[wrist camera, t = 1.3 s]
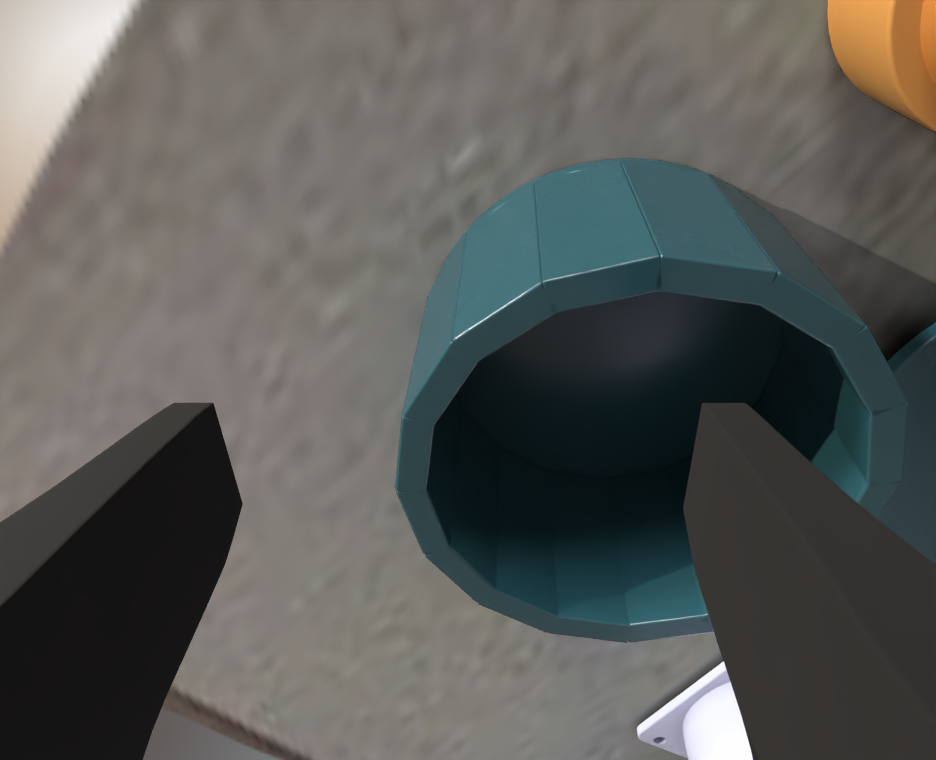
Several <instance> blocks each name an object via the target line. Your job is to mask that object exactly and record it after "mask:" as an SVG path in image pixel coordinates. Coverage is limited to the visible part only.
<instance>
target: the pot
mask: <svg viewBox="0 0 936 760" xmlns="http://www.w3.org/2000/svg"><path fill="white" fill-rule="evenodd" d="M702 403H746V404H747V405H749V406H750V407H751V408H752V409H753V410H754V411H755V412H757V413H758V414H759V415H760V416H761V417H762V418H763V419H764V420H765V421H766V422H768V423H769V424H770V425H771V426H772V427H773V428H774V429H775V430H776V431H777V432H778V433H779V434H781V435H782V436H783V437H784V438H785V439H786V440H787V441H788V442H789V443H790V444H791V445H792V446H794V447H795V448H796V449H797V450H798V451H799V452H800V453H801V454H802V455H803V456H804V457H806V458H807V459H808V460H809V461H810V462H811V463H812V464H813V465H814V466H816V467H817V468H818V469H819V470H820V471H821V472H822V473H823V474H824V475H826V476H827V477H828V478H829V479H830V480H831V481H832V482H834V483H835V484H836V485H837V486H838V487H839V488H840V489H842V490H843V491H844V492H845V493H846V494H847V495H849V496H850V497H851V498H852V499H853V500H855V501H856V502H857V503H858V504H859V505H861V506H862V507H863V508H864V509H865V510H867V511H868V512H869V513H870V514H871V515H873V516H874V517H875V518H876V519H877V520H878V518H879V517H880V515H881V513H882V512H883V510H884V509H885V507H886V506H887V504H888V502H889V501H890V499H891V498H892V496H893V494H894V493H895V491H896V490H897V488H898V486H899V485H900V482H901V481H902V477H903V464H904V451H905V438H906V425H907V412H908V402H907V398H906V396H905V394H904V392H903V390H902V389H901V387H900V385H899V383H898V381H897V379H896V377H895V376H894V374H893V372H892V370H891V368H890V366H889V364H888V363H887V361H886V359H885V357H884V355H883V353H882V352H881V350H880V348H879V346H878V344H877V342H876V340H875V339H874V337H873V335H872V333H871V331H870V329H869V327H868V326H867V325H866V324H865V322H864V321H863V320H862V319H861V318H860V317H859V315H858V314H857V313H856V312H855V311H854V310H853V308H852V307H851V306H850V305H849V304H848V303H847V301H846V300H845V299H844V298H843V297H842V295H841V294H840V293H839V292H838V291H837V290H836V288H835V287H834V286H833V285H832V284H831V283H830V281H829V280H828V279H827V278H826V277H825V275H824V274H823V273H822V272H821V271H820V270H819V268H818V267H817V266H816V265H815V264H814V263H813V261H812V260H811V259H810V258H809V257H808V255H807V254H806V253H805V252H804V251H803V250H802V248H801V247H800V246H799V245H798V244H797V243H796V241H795V240H794V239H793V238H792V237H791V236H790V234H789V233H788V232H787V231H786V230H785V228H784V227H783V226H782V225H781V224H780V223H779V221H778V220H777V219H776V218H775V217H774V216H773V215H772V214H770V213H769V212H767V211H766V210H764V209H763V208H761V207H760V206H758V205H757V204H756V203H755V202H754V201H752V200H751V199H750V198H749V197H747V196H746V195H745V194H743V193H742V192H741V191H739V190H738V189H737V188H735V187H733V186H732V185H730V184H728V183H726V182H724V181H722V180H720V179H719V178H717V177H715V176H713V175H710V174H708V173H705V172H702V171H699V170H697V169H694V168H691V167H688V166H685V165H680V164H675V163H670V162H666V161H661V160H649V159H636V158H627V159H609V160H600V161H594V162H589V163H584V164H578V165H574V166H571V167H567V168H564V169H561V170H558V171H555V172H552V173H549V174H546V175H544V176H542V177H540V178H538V179H536V180H534V181H531V182H529V183H527V184H525V185H523V186H521V187H520V188H518V189H516V190H515V191H513V192H512V193H510V194H508V195H507V196H505V197H504V198H502V199H501V200H499V201H498V202H497V203H495V204H494V205H493V206H492V207H491V208H489V209H488V210H487V211H486V212H485V213H483V214H482V215H481V216H480V217H479V218H478V219H477V220H476V221H475V222H474V223H473V224H472V225H471V226H470V227H469V229H468V230H467V231H466V232H465V233H464V234H463V235H462V236H461V238H460V239H459V241H458V242H457V243H456V245H455V246H454V248H453V249H452V251H451V252H450V253H449V255H448V256H447V258H446V260H445V262H444V264H443V266H442V268H441V270H440V272H439V274H438V276H437V279H436V282H435V283H434V285H433V287H432V288H431V290H430V292H429V295H428V297H427V302H426V306H425V311H424V315H423V320H422V325H421V329H420V334H419V338H418V343H417V348H416V352H415V357H414V361H413V366H412V371H411V375H410V380H409V385H408V389H407V394H406V398H405V403H404V408H403V412H402V417H401V427H400V438H399V449H398V461H397V472H396V483H395V489H396V493H397V495H398V497H399V500H400V502H401V504H402V506H403V509H404V511H405V513H406V516H407V518H408V520H409V522H410V525H411V527H412V529H413V531H414V534H415V536H416V538H417V541H418V543H419V545H420V547H421V550H422V552H423V553H424V554H425V556H426V558H428V559H429V560H430V561H431V562H432V563H433V564H434V565H435V566H436V567H438V568H439V569H440V570H441V571H442V572H443V573H444V574H445V575H447V576H448V577H449V578H450V579H451V580H452V581H453V582H454V583H455V584H457V585H458V586H459V587H460V588H461V589H462V590H463V591H464V592H466V593H467V594H468V595H469V596H470V597H471V598H472V599H473V600H475V601H476V602H478V604H479V605H482V606H484V607H486V608H489V609H491V610H494V611H496V612H498V613H501V614H503V615H506V616H508V617H510V618H513V619H515V620H518V621H520V622H522V623H525V624H527V625H530V626H532V627H534V628H537V629H539V630H542V631H544V632H549V633H552V634H560V635H568V636H576V637H584V638H593V639H601V640H609V641H617V642H625V643H627V642H628V641H629V642H637V641H645V640H654V639H662V638H670V637H678V636H686V635H694V634H702V633H709V632H711V631H712V632H714V630H713V627H712V624H711V621H710V617H709V614H708V611H707V608H706V605H705V602H704V599H703V595H702V592H701V589H700V586H699V583H698V579H697V576H696V573H695V569H694V564H693V559H692V554H691V549H690V544H689V538H688V533H687V527H686V521H685V515H684V510H683V506H684V501H685V495H686V490H687V484H688V478H689V473H690V467H691V462H692V456H693V451H694V445H695V440H696V434H697V429H698V423H699V417H700V412H701V406H702Z"/></svg>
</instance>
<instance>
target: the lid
mask: <svg viewBox="0 0 936 760" xmlns="http://www.w3.org/2000/svg"><path fill="white" fill-rule="evenodd" d="M887 363H888V364H889V366H890V368H891V370H892V372H893V374H894V376H895V377H896V379H897V381H898V383H899V385H900V387H901V389H902V390H903V392H904V394H905V396H906V398H907V402H908V412H907V425H906V438H905V451H904V464H903V477H902V481H901V482H900V485H899V486H898V488H897V490H896V491H895V493H894V494H893V496H892V498H891V499H890V501H889V502H888V504H887V506H886V507H885V509H884V510H883V512H882V513H881V515H880V517H879V518H878V520H879V521H880V522H881V523H883V524H884V525H885V526H886V527H888V528H889V529H890V530H891V531H893V532H894V533H895V534H897V535H898V536H899V537H900V538H902V539H903V540H904V541H906V542H907V543H908V544H909V545H911V546H912V547H913V548H915V549H916V550H917V551H918V552H920V553H921V554H922V555H924V556H925V557H926V558H928V559H929V560H930V561H932V562H933V563H935V564H936V322H935V323H934V324H932V325H931V326H929V327H928V328H926V329H925V330H923V331H922V332H920V333H919V334H918V335H917V336H915V337H914V338H913V339H912V340H911V341H909V342H908V343H907V344H906V345H905V346H903V347H902V348H901V349H900V350H899V351H897V352H896V353H895V354H894V355H893V356H892V357H891V358H890V359H889V360H888V361H887Z"/></svg>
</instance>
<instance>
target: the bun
mask: <svg viewBox="0 0 936 760" xmlns="http://www.w3.org/2000/svg"><path fill="white" fill-rule="evenodd" d="M827 14H828V30H829V35H830V40H831V44H832V48H833V51H834V53H835V56H836V59H837V61H838V63H839V65H840V66H841V68H842V70H843V72H844V73H845V75H846V76H847V77H848V78H849V80H850V81H851V82H852V83H853V84H854V85H855V86H856V87H857V88H858V89H859V90H860V91H862V92H863V93H864V94H865V95H867V96H869V97H870V98H872V99H874V100H875V101H877V102H879V103H881V104H883V105H885V106H886V107H888V108H890V109H892V110H894V111H896V112H898V113H900V114H902V115H903V116H905V117H907V118H909V119H911V120H913V121H915V122H917V123H919V124H920V125H922V126H924V127H926V128H928V129H930V130H932V131H934V132H936V0H828V11H827Z"/></svg>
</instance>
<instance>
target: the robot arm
mask: <svg viewBox="0 0 936 760" xmlns="http://www.w3.org/2000/svg"><path fill="white" fill-rule="evenodd" d="M241 507H242V500H241V497H240V493H239V490H238V487H237V483H236V480H235V476H234V473H233V469H232V466H231V462H230V459H229V455H228V452H227V449H226V445H225V442H224V438H223V435H222V431H221V428H220V424H219V421H218V417H217V414H216V411H215V407H214V404H213V403H173V404H171V405H170V406H168V407H167V408H165V409H163V410H162V411H160V412H159V413H157V414H156V415H154V416H153V417H151V418H150V419H148V420H147V421H145V422H144V423H142V424H141V425H140V426H138V427H137V428H135V429H134V430H133V431H131V432H130V433H128V434H127V435H126V436H124V437H123V438H121V439H120V440H119V441H117V442H116V443H115V444H113V445H112V446H110V447H109V448H108V449H106V450H105V451H103V452H102V453H101V454H99V455H98V456H96V457H95V458H94V459H92V460H91V461H89V462H88V463H87V464H85V465H84V466H82V467H81V468H80V469H78V470H77V471H75V472H74V473H73V474H71V475H70V476H68V477H67V478H66V479H64V480H63V481H61V482H60V483H59V484H57V485H56V486H54V487H53V488H51V489H50V490H48V491H47V492H45V493H44V494H42V495H41V496H39V497H38V498H36V499H35V500H33V501H32V502H30V503H29V504H27V505H26V506H24V507H23V508H21V509H20V510H18V511H17V512H15V513H14V514H12V515H11V516H9V517H8V518H6V519H5V520H3V521H2V522H0V760H143V757H144V754H145V751H146V747H147V745H148V742H149V739H150V736H151V733H152V730H153V728H154V725H155V723H156V720H157V718H158V715H159V712H160V710H161V708H162V705H163V703H164V700H165V698H166V696H167V693H168V691H169V689H170V687H171V684H172V682H173V680H174V678H175V676H176V673H177V671H178V669H179V667H180V664H181V662H182V660H183V658H184V656H185V653H186V651H187V649H188V647H189V644H190V642H191V640H192V638H193V636H194V633H195V631H196V629H197V627H198V624H199V622H200V620H201V618H202V616H203V613H204V611H205V609H206V607H207V604H208V602H209V600H210V597H211V595H212V593H213V591H214V588H215V586H216V584H217V582H218V579H219V577H220V575H221V572H222V570H223V567H224V565H225V563H226V559H227V556H228V553H229V550H230V546H231V543H232V540H233V537H234V533H235V529H236V526H237V522H238V518H239V515H240V511H241ZM683 510H684V515H685V521H686V527H687V533H688V538H689V544H690V549H691V554H692V559H693V564H694V569H695V573H696V576H697V579H698V583H699V586H700V589H701V592H702V595H703V599H704V602H705V605H706V608H707V611H708V614H709V617H710V621H711V624H712V627H713V630H714V633H715V636H716V639H717V642H718V645H719V648H720V651H721V654H722V657H723V662H722V663H721V664H719V665H718V666H717V667H715V668H714V669H713V670H711V671H710V672H709V673H707V674H706V675H705V676H703V677H702V678H701V679H699V680H698V681H697V682H695V683H694V684H693V685H691V686H690V687H689V688H687V689H686V690H685V691H683V692H682V693H681V694H679V695H678V696H677V697H675V698H674V699H673V700H671V701H670V702H669V703H667V704H666V705H665V706H663V707H662V708H661V709H660V710H658V711H657V712H656V713H654V714H653V715H652V716H650V717H649V718H648V719H646V720H645V721H644V722H642V723H641V724H640V725H639V726H638V727H637V734H638V738H639V739H640V740H642V741H643V742H646V743H648V744H651V745H654V746H656V747H659V748H661V749H664V750H667V751H669V752H672V753H674V754H677V755H679V756H682V757H685V758H687V759H688V760H936V564H935V563H933V562H932V561H930V560H929V559H928V558H926V557H925V556H924V555H922V554H921V553H920V552H918V551H917V550H916V549H915V548H913V547H912V546H911V545H909V544H908V543H907V542H906V541H904V540H903V539H902V538H900V537H899V536H898V535H897V534H895V533H894V532H893V531H891V530H890V529H889V528H888V527H886V526H885V525H884V524H883V523H881V522H880V521H879V520H877V519H876V518H875V517H874V516H873V515H871V514H870V513H869V512H868V511H867V510H865V509H864V508H863V507H862V506H861V505H859V504H858V503H857V502H856V501H855V500H853V499H852V498H851V497H850V496H849V495H847V494H846V493H845V492H844V491H843V490H842V489H840V488H839V487H838V486H837V485H836V484H835V483H834V482H832V481H831V480H830V479H829V478H828V477H827V476H826V475H824V474H823V473H822V472H821V471H820V470H819V469H818V468H817V467H816V466H814V465H813V464H812V463H811V462H810V461H809V460H808V459H807V458H806V457H804V456H803V455H802V454H801V453H800V452H799V451H798V450H797V449H796V448H795V447H794V446H792V445H791V444H790V443H789V442H788V441H787V440H786V439H785V438H784V437H783V436H782V435H781V434H779V433H778V432H777V431H776V430H775V429H774V428H773V427H772V426H771V425H770V424H769V423H768V422H766V421H765V420H764V419H763V418H762V417H761V416H760V415H759V414H758V413H757V412H755V411H754V410H753V409H752V408H751V407H750V406H749V405H747V404H746V403H702V406H701V412H700V417H699V423H698V429H697V434H696V440H695V445H694V451H693V456H692V462H691V467H690V473H689V478H688V484H687V490H686V495H685V501H684V506H683Z"/></svg>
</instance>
